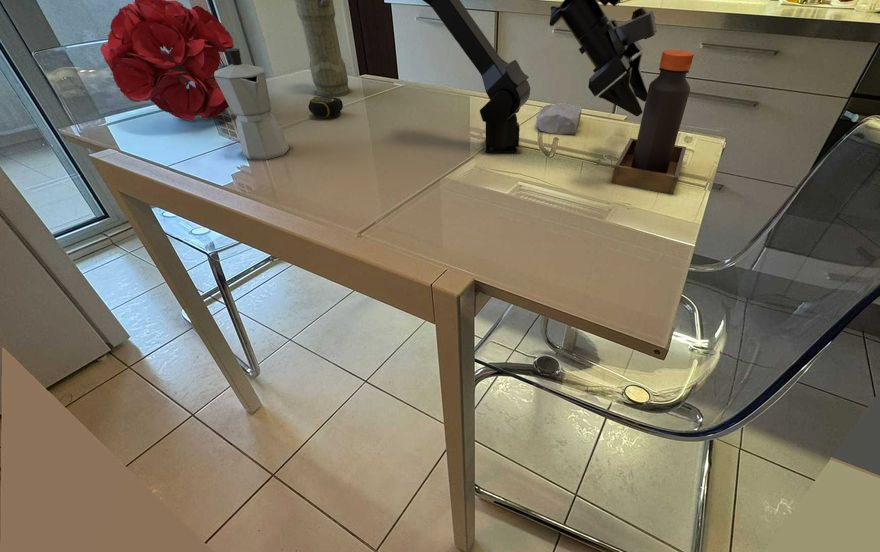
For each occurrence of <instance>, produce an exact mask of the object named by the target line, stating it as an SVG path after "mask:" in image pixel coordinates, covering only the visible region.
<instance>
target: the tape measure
mask: <svg viewBox="0 0 880 552" xmlns="http://www.w3.org/2000/svg"><path fill="white" fill-rule="evenodd" d="M343 108H344V104H343V100H342V99H341V98H338V97H326V96H314V97H313V98H311V99H309V103H308V110H309V111H310V112H311V113H312V115H313V116H314V117H318V118H323V119H330V118H331V117H335V116H338V115H340V114H341V111H342V110H343Z"/></svg>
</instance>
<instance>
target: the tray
mask: <svg viewBox="0 0 880 552" xmlns="http://www.w3.org/2000/svg"><path fill="white" fill-rule="evenodd" d="M636 143H637V138H634V137H630V138H629V140H628V141H627V143H626V145H625V147H624V149H623V151H622V152H621V154H620V156H619V158H618V160H616V161H617V162H616V163H615V164H614V169H613V172H612V179H611V184H616V185H621V186H626V187H632V188H637V189H641V190H648V191H653V192H657V193H664V194H668V195H674V193H675V189H676V186H677V183H678V181H679V180H678V179H679V176H680V173H681V168H682V165H683V162H684V158H685V154H686V151H687V146H683V145H679V144H678V145H677V144H675V146H674V150H673V153H672V157H671V160H670V164H669V167H668V171H667V173H666V174H665V173H660V172H654V171H648V170H643V169H637V168H632V167H631V165H632V161H633V156H634V152H635V147H636Z"/></svg>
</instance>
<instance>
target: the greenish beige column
mask: <svg viewBox="0 0 880 552" xmlns="http://www.w3.org/2000/svg"><path fill="white" fill-rule="evenodd" d="M294 5H295V9H296V14H297V16H298V17H299V19H300V22H301V26H302V31H303V35H304V39H305V43H306V47H307V51H308V56H309V70H310V74H311V78H312V82H313V84H314V87H315V92H316V93H315V94H316V95H318V96H319V97H333V98H335V97H341V96H344V95H345V96H346V95H347V94H349V93H350V88H349V77H348V73H347V67H346V63H345V61H344V59H343V56H342V53H341V48H340V47H341V46H340V42H339V38H338V37H339V36H338V32H337V25H336V20H335V16H336V10H335V5H334V0H294Z"/></svg>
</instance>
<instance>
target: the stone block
mask: <svg viewBox="0 0 880 552" xmlns="http://www.w3.org/2000/svg"><path fill="white" fill-rule="evenodd" d="M582 108H583V106H582V105H575V104H569V103H564V102H557V103H554V104H547V105H544V106H543V107H542V108H541V109H540V110H539V112H538V114H537V115H536V126H537V128H538V129H539V131H541V132H545V133H549V134H556V135H557V134H560V135H576V134H577V131H578V128H579V124H580V120H581V117H582Z"/></svg>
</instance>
